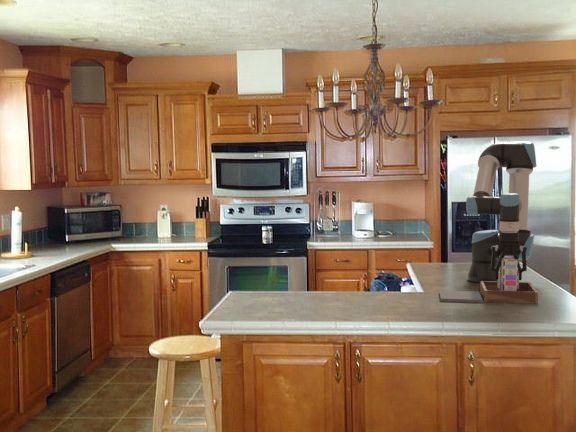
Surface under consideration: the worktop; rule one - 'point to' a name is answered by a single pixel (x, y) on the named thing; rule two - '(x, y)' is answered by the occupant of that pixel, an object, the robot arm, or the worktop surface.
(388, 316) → the worktop surface
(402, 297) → the worktop surface
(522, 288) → the crate
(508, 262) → the candy box
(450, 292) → the plate
